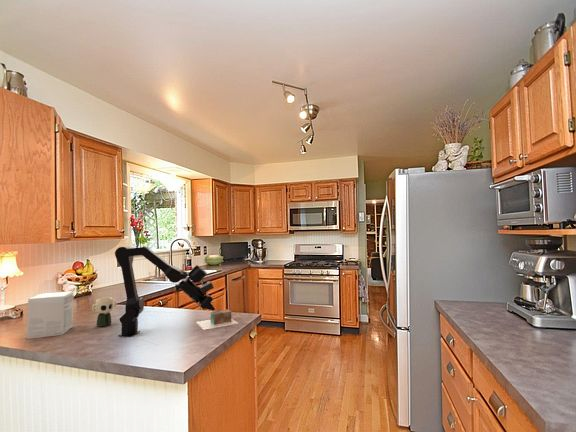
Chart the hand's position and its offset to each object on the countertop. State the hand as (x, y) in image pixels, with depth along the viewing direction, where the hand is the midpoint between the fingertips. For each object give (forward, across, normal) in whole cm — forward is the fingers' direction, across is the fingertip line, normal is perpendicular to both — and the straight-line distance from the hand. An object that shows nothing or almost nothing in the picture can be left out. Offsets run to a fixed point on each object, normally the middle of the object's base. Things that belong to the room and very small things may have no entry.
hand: (214, 309), depth 139 cm
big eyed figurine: (-28, +30, +38) cm, 56 cm away
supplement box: (-42, +31, +53) cm, 75 cm away
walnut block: (+2, 0, +4) cm, 4 cm away
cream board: (+6, 0, +4) cm, 7 cm away
